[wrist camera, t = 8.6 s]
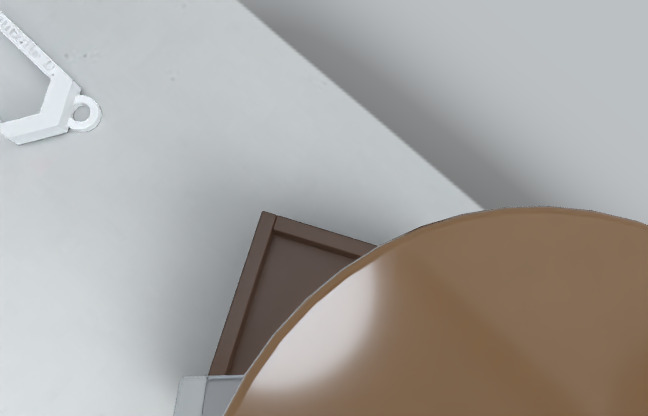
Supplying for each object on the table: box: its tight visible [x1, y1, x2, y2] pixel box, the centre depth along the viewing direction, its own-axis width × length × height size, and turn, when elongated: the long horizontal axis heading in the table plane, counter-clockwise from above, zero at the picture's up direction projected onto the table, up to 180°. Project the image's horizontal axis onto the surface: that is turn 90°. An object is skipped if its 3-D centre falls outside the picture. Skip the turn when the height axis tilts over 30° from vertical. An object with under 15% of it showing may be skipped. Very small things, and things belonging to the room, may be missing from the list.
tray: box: [208, 211, 378, 376], centre depth 29 cm, size 12×12×4 cm
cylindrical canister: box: [222, 206, 648, 416], centre depth 12 cm, size 6×6×16 cm
